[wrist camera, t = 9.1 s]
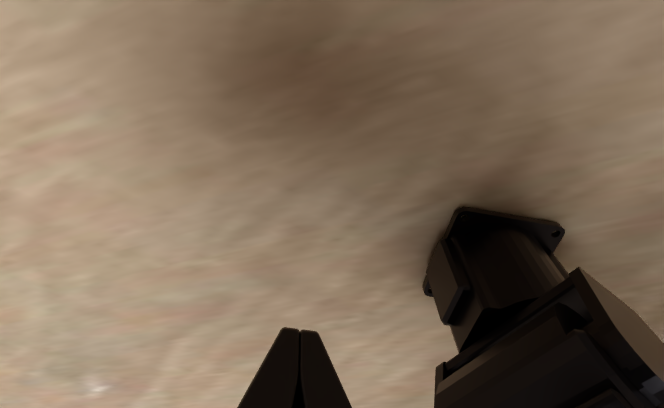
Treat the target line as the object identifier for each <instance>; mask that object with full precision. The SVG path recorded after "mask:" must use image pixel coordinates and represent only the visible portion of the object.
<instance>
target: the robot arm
mask: <svg viewBox="0 0 664 408" xmlns="http://www.w3.org/2000/svg"><path fill="white" fill-rule="evenodd" d="M463 215H467V216H466V217H465V218H461V216H463ZM555 230H557V231H556V232H554V233H552V232H553V231H555ZM564 233H565V230H564V229H563V228H562V226H561V225H560V224H558V223H555V222H549V221H543V220H538V219H532V218H526V217H520V216H515V215H509V214H503V213H498V212H492V211H486V210H480V209H475V208H469V207H461V208H459V209H457V210H456V211H455V213H454V215H453V217H452V220H451V222H450V224H449V227H448V229H447V231H446V233H445V236H444V238H442V239H441V240H440V241H439V242H438V245H437V247H436V249H435V252H434V254H433V256H432V259H431V261H430V263H429V266H428V268H427V270H426V274H427V277H426V279H425V281H424V284H423V290H424V293H425V294H426V295H427V296H431V297H434V300H435V303H436V306H437V309H438V313H439V316H440V319H441V321H442V322H443V324H444V325H450V328H451V331H452V334H453V337H454V340H455V343H456V346H457V349H458V352H459V354H458V355H456V356H455V357H454V358H452V359H451V360H449V361H448V362H443V363H441V364H440V365H439V366H437V367H436V375H435V399H434V408H664V343H663V342H662V341H661V340H660V339H659V338H658V337H657V336H656V334H655V333H654V332H653V331H652V330H651V329H650V328H649V327H648V326H647V325H646V323H645V322H644V321H643V320H642V319H641V318H640V317H639V316H638V315H637V314H636V313H635V312H634V311H633V310H632V309H631V308H630V307H628V306H627V305H626V304H625V303H623V302H622V301H621V300H620V299H618V298H617V297H616V296H615V295H613V294H612V293H611V292H610V291H608V290H607V289H606V288H605V287H604V286H602V285H601V284H600V283H599V282H597V281H596V280H595V279H594V278H592V277H591V276H590V275H589V274H587V273H586V272H585V271H584V270H582V269H581V268H580V267H578V268H576V269H575V270H574V271H572V272H571V273H569V274H568V273H567V272H566V270H565V269H564V268H563V266H562V265H561V263H560V262H559V261H558V259H557V258H556V257H555V255H554V254H553V252H554V250H555V249H556V247H557V245H558V244H559V242H560V241H561V239H562V237H563V236H564ZM429 288H431V289H429ZM237 408H352V407H351V405H350V402H349V400H348V398H347V396H346V393H345V391H344V389H343V387H342V385H341V382H340V380H339V378H338V376H337V373H336V371H335V369H334V367H333V365H332V362H331V360H330V358H329V356H328V353H327V351H326V349H325V347H324V345H323V342H322V340H321V338H320V336H319V334H318V333H317V332H316V331H310V330H301V331H300V332H299V330H298V329H295V328H287V327H284V328H282V329H281V330H280V332H279V334H278V336H277V338H276V339H275V341H274V343H273V345H272V347H271V348H270V350H269V352H268V354H267V355H266V357H265V359H264V361H263V363H262V364H261V366H260V368H259V370H258V372H257V373H256V375H255V377H254V379H253V380H252V382H251V384H250V386H249V388H248V389H247V391H246V393H245V395H244V397H243V398H242V400H241V402H240V404H239V405H238V407H237Z"/></svg>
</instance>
